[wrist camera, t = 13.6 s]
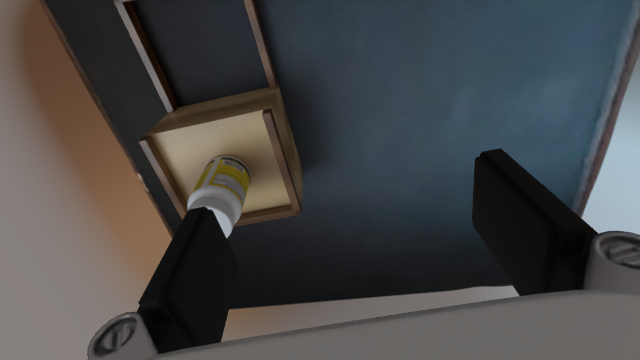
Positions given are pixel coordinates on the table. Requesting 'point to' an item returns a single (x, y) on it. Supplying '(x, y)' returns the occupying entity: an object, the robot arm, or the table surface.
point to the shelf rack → (224, 135)
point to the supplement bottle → (222, 190)
